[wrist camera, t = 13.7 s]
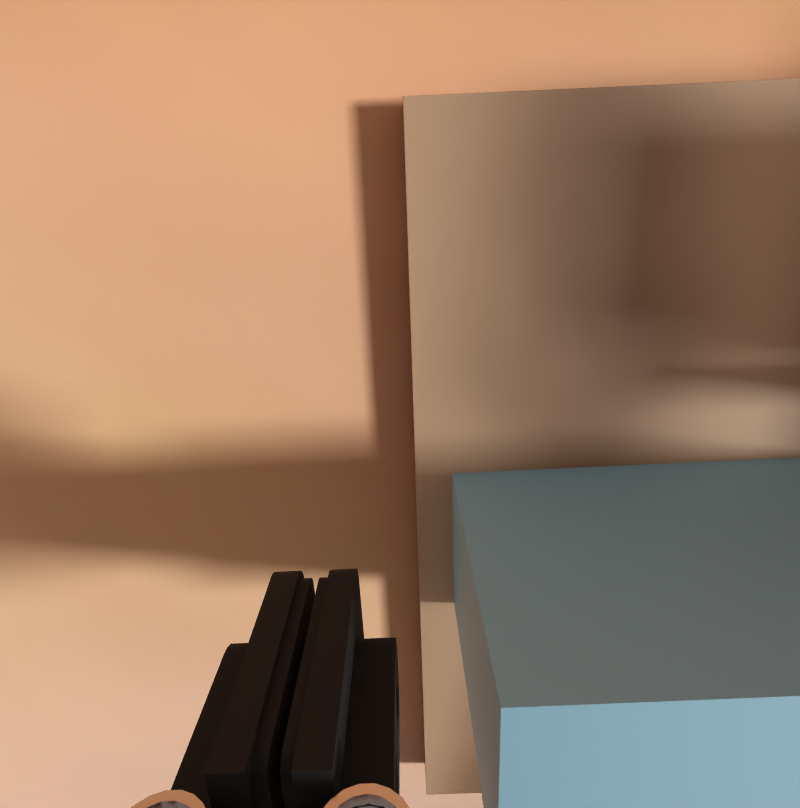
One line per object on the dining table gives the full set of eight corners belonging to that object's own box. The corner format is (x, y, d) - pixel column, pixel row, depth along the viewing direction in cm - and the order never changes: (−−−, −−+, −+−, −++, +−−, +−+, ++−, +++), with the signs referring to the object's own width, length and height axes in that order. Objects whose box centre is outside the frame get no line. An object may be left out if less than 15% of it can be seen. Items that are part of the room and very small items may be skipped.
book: (454, 602, 14) (496, 892, 8) (451, 473, 13) (500, 708, 7) (820, 586, 14) (1139, 870, 8) (858, 454, 13) (1277, 676, 7)
